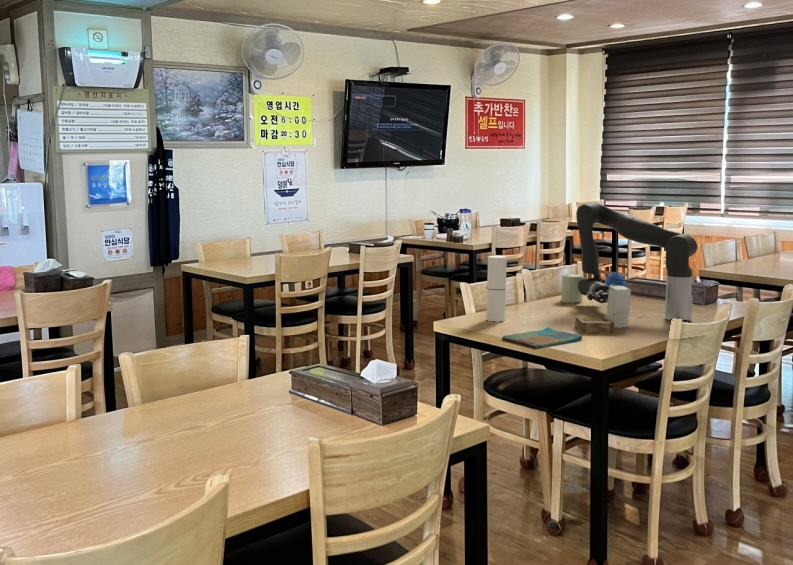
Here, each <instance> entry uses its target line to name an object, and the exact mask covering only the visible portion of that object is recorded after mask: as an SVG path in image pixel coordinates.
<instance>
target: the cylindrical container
mask: <svg viewBox="0 0 793 565" xmlns="http://www.w3.org/2000/svg"><path fill="white" fill-rule="evenodd" d="M507 259H508V258H507V256H506V255H488V256H487V278H486V279H487V281H486V284H487V285H486V286H487V287H486V290H487V291H486V321H487V320H489V321H495V322H494V323H501V322H500V321H504V322H505V321H506V298H507V296H506V294H507V292H506V291H507V284H506V283H507ZM489 321H488V322H489Z"/></svg>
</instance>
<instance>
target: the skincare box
mask: <svg viewBox="0 0 793 565" xmlns="http://www.w3.org/2000/svg"><path fill="white" fill-rule="evenodd" d="M631 294H632V289H630V288H628V286H627V287H624V286H609V295H608V302H607V308H606V309H607V310H606V317H607V318H608V319H610V320H611V321H612V322H614V329H615V328H616V329H617V328H618V329H619V328H621V329H622V327H627V328H629V317H630V304H631Z"/></svg>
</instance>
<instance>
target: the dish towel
mask: <svg viewBox="0 0 793 565" xmlns="http://www.w3.org/2000/svg"><path fill="white" fill-rule="evenodd" d="M582 339H583V335H581V334H580V333H572V332H566V331H561V330H556V329H553V328H550V327H549V326H547V327H546V328H543V329H541V330H537V331H536V330H531V331H526V332H520V333H518V332H517V333H513V334H512V333H511V334H507V335H502V337H501V341H504V342H508V343H512V344H514V345H515V344H516V345H519V346H521V347H527V348H530V349H534V350H538V349H544V348H550V347H555V346H558V345H566V344H570V343H575V342H579V341H582Z"/></svg>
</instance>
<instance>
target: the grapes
mask: <svg viewBox="0 0 793 565" xmlns="http://www.w3.org/2000/svg"><path fill="white" fill-rule="evenodd" d="M604 284H605V285H606V286H608V287H609V286H624V287H627V288H628V285H629V284H628V281H626V280H624V276H623V275H622V274H620V273H619V274H618V273H617V272H615V271H612V272H611V274H610V273H609V274H606V280H605V281H604Z"/></svg>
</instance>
